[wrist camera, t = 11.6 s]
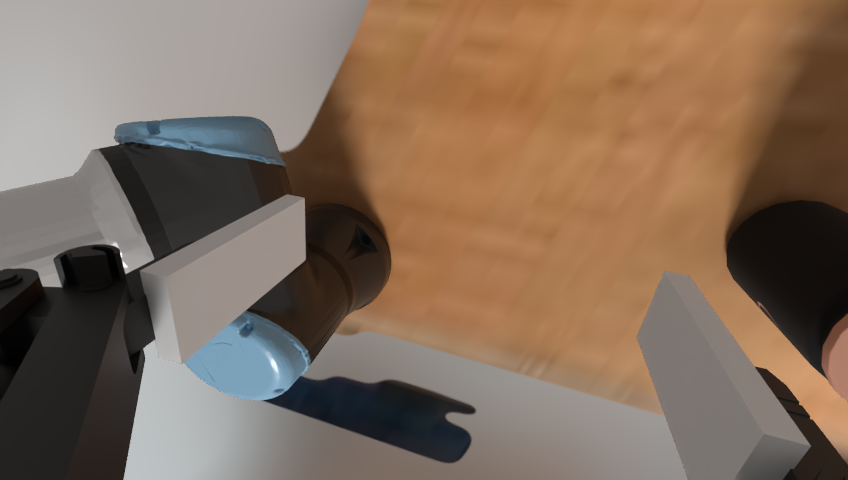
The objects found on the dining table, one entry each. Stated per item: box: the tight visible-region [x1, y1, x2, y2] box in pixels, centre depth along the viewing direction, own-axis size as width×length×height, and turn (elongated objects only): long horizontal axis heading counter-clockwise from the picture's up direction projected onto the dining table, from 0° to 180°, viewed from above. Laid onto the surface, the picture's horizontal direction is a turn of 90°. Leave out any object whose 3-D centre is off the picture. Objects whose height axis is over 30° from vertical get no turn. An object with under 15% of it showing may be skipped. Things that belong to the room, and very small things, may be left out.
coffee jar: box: [727, 200, 848, 402], centre depth 34 cm, size 11×11×18 cm
